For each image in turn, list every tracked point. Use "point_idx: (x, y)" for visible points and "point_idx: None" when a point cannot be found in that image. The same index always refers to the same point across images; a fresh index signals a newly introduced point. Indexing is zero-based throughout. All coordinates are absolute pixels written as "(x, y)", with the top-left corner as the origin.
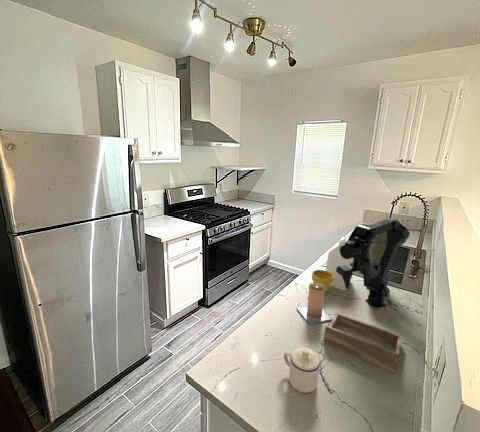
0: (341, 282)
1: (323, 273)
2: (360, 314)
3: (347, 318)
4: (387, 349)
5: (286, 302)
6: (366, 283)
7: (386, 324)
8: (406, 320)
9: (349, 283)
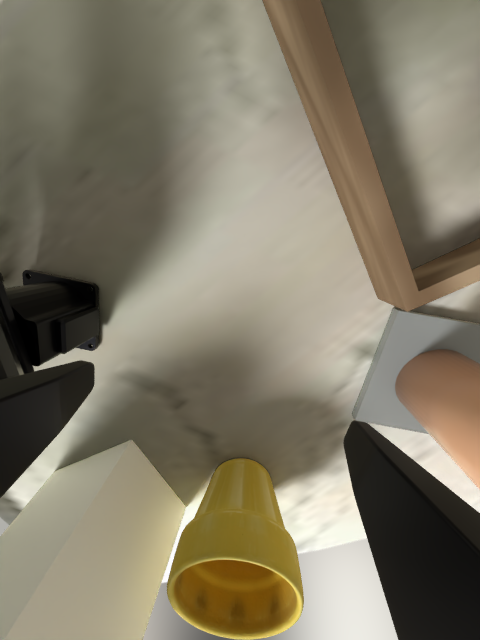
0: (124, 487)
1: (195, 590)
2: (214, 279)
3: (397, 238)
4: None
5: (452, 486)
6: (49, 384)
7: (150, 148)
8: (8, 121)
9: (433, 503)
